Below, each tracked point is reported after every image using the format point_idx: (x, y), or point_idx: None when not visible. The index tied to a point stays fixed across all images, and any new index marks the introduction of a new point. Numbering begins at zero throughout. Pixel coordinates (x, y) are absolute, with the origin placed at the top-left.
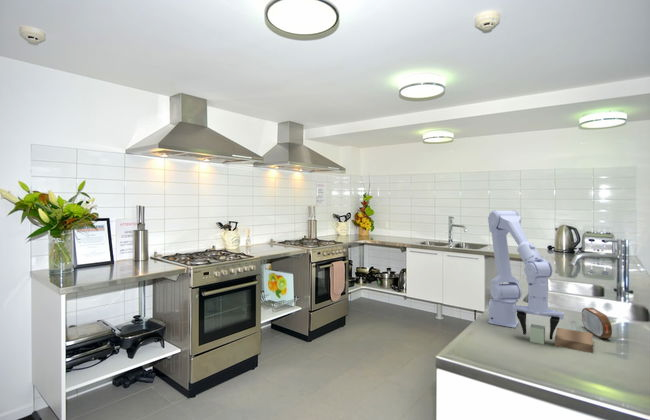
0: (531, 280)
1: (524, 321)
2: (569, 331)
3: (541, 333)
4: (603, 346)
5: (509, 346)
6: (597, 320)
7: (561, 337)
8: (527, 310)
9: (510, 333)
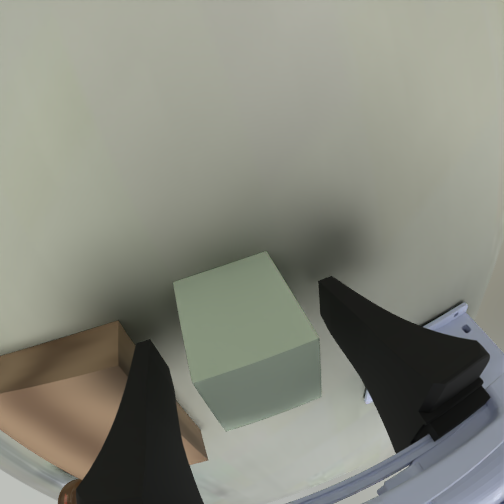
0: None
1: (393, 352)
2: None
3: (205, 340)
4: None
5: (352, 17)
6: None
7: (101, 396)
8: (443, 476)
9: (389, 277)
